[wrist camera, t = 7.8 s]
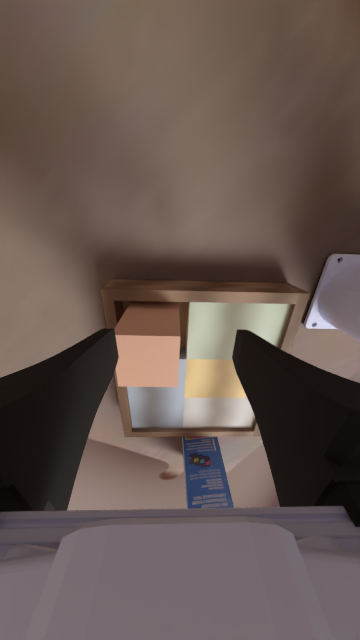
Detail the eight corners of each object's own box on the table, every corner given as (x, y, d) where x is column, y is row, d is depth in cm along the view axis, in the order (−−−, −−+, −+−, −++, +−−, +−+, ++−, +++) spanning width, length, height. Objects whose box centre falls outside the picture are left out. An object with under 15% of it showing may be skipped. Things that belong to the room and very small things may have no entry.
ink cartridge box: (217, 456, 33) (245, 604, 20) (186, 458, 33) (194, 607, 20) (216, 420, 28) (250, 579, 15) (180, 423, 29) (185, 584, 16)
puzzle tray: (288, 283, 19) (310, 293, 16) (250, 412, 28) (259, 436, 25) (112, 278, 18) (99, 288, 15) (130, 413, 27) (124, 436, 24)
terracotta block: (178, 300, 19) (180, 336, 12) (177, 339, 21) (177, 387, 14) (132, 298, 18) (110, 334, 12) (135, 338, 20) (118, 386, 14)
